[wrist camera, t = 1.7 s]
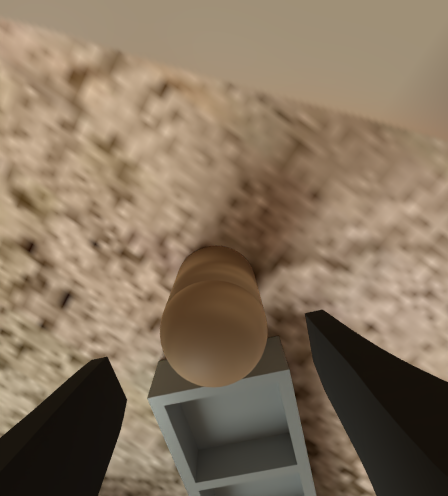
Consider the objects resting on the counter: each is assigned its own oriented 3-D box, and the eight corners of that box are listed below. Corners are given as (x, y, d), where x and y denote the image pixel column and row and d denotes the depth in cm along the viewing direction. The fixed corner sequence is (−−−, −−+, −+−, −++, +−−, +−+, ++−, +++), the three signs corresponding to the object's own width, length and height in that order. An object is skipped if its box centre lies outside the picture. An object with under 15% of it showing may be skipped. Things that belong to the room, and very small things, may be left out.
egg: (245, 237, 15) (262, 296, 9) (262, 307, 16) (286, 402, 10) (167, 256, 15) (129, 325, 9) (189, 323, 17) (170, 425, 10)
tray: (278, 335, 17) (289, 369, 14) (324, 546, 23) (337, 596, 21) (158, 361, 17) (147, 398, 15) (236, 561, 24) (238, 611, 21)
